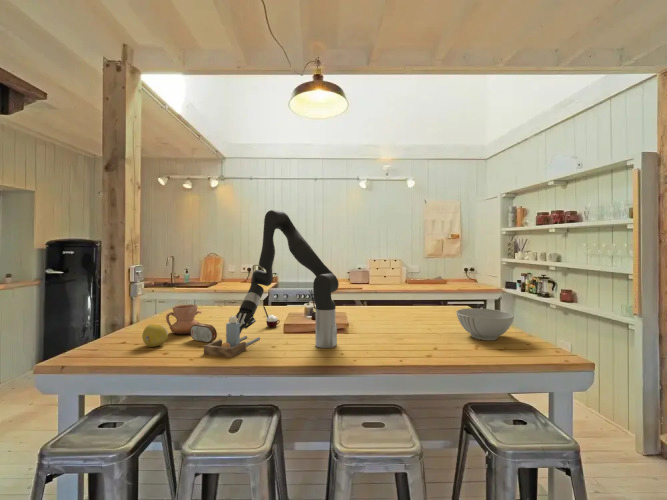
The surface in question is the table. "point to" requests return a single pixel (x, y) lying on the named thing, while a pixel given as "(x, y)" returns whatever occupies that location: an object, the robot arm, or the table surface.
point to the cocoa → (271, 320)
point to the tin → (203, 332)
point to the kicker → (233, 332)
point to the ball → (225, 345)
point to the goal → (223, 349)
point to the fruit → (154, 335)
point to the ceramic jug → (183, 318)
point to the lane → (250, 341)
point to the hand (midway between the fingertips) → (235, 335)
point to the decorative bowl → (484, 322)
